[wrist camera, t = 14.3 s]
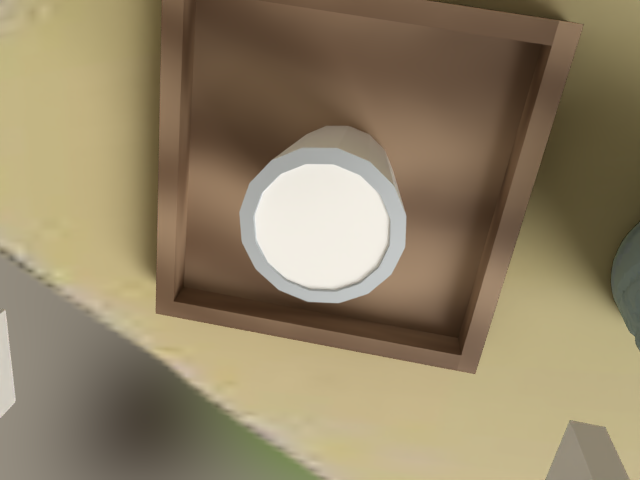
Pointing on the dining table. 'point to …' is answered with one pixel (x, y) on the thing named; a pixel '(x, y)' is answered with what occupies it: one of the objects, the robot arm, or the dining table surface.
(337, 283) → the white cup
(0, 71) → the dining table surface
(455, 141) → the tray
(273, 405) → the dining table surface
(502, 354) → the dining table surface
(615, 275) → the blue cup
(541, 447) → the dining table surface
